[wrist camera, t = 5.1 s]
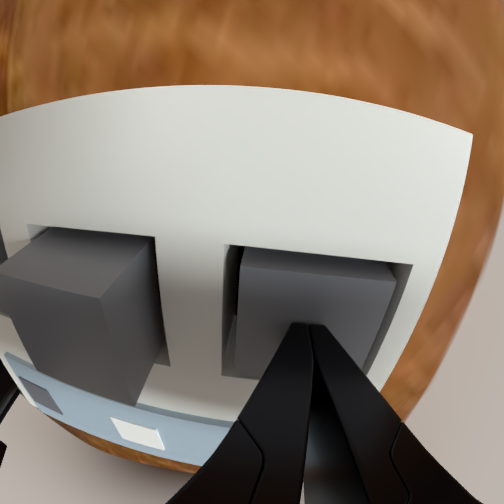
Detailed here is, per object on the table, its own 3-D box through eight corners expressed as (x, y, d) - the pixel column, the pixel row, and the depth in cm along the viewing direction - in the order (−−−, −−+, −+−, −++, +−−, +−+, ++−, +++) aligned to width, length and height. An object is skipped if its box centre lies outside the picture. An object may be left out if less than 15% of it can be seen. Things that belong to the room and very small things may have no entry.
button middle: (164, 338, 9) (135, 406, 7) (76, 318, 9) (37, 371, 7) (153, 236, 7) (100, 298, 5) (53, 226, 8) (-8, 271, 5)
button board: (319, 429, 15) (321, 479, 12) (49, 373, 15) (27, 407, 12) (418, 123, 7) (483, 136, 4) (-20, 128, 8) (-72, 145, 5)
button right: (342, 324, 10) (354, 382, 8) (245, 314, 11) (233, 373, 8) (367, 233, 9) (396, 282, 6) (252, 220, 9) (239, 266, 6)
